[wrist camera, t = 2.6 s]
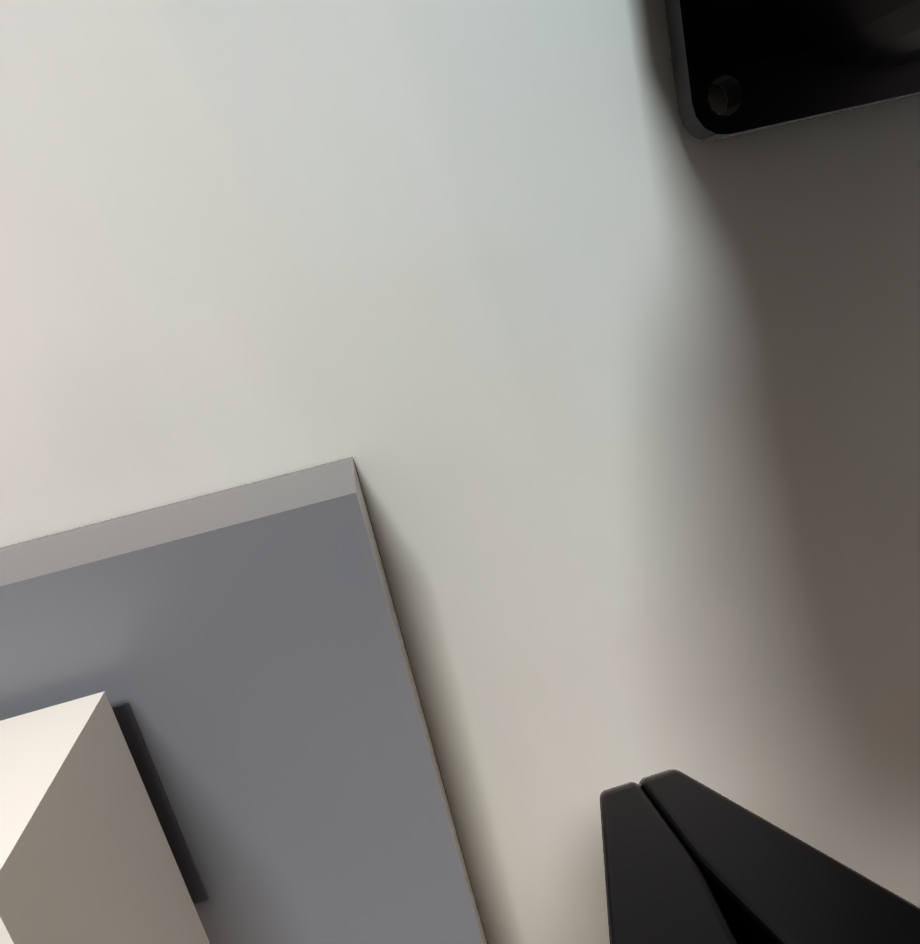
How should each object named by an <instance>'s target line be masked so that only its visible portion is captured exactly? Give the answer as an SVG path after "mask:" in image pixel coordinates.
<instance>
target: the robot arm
mask: <svg viewBox="0 0 920 944" xmlns="http://www.w3.org/2000/svg"><path fill="white" fill-rule="evenodd" d="M665 7H666V15H667V23H668V31H669V39H670V47H671V54H672V62H673V70H674V78H675V86H676V94H677V102H678V110H679V113H680V117H681V120H682V123H683V125H684V126H685V127H686V129H687V130H688V131H689V132H690V134H691V135H693V136H695V137H697V138H699V139H701V140H718V139H723V138H727V137H732V136H736V135H741V134H745V133H750V132H754V131H758V130H763V129H767V128H772V127H776V126H781V125H785V124H790V123H794V122H799V121H803V120H808V119H812V118H817V117H821V116H826V115H830V114H835V113H839V112H843V111H848V110H852V109H857V108H861V107H866V106H870V105H875V104H879V103H884V102H888V101H893V100H897V99H902V98H906V97H911V96H915V95H919V94H920V0H665ZM712 84H718V85H719V86H720V87H721V88H723V89H724V90H725V93H726V96H727V99H728V101H727V110H726V111H725V113H724V114H723V115H718V114H717V113H716V112H715V111H713V110H712V109H711V106H710V103H709V100H708V96H709V88H710V87H711V85H712ZM600 810H601V824H602V838H603V853H604V867H605V881H606V895H607V910H608V924H609V938H610V944H920V908H919V907H917V906H915V905H913V904H912V903H910V902H908V901H906V900H905V899H903V898H901V897H899V896H898V895H896V894H894V893H892V892H891V891H889V890H887V889H885V888H884V887H882V886H880V885H878V884H877V883H875V882H873V881H871V880H869V879H868V878H866V877H864V876H862V875H861V874H859V873H857V872H855V871H854V870H852V869H850V868H848V867H847V866H845V865H843V864H841V863H840V862H838V861H836V860H834V859H833V858H831V857H829V856H827V855H826V854H824V853H822V852H820V851H819V850H817V849H815V848H813V847H812V846H810V845H808V844H806V843H805V842H803V841H801V840H799V839H798V838H796V837H794V836H792V835H791V834H789V833H787V832H785V831H784V830H782V829H780V828H778V827H777V826H775V825H773V824H771V823H770V822H768V821H766V820H764V819H763V818H761V817H759V816H757V815H756V814H754V813H752V812H750V811H749V810H747V809H745V808H743V807H742V806H740V805H738V804H736V803H735V802H733V801H731V800H729V799H728V798H726V797H724V796H722V795H721V794H719V793H717V792H715V791H714V790H712V789H710V788H708V787H707V786H705V785H703V784H701V783H699V782H698V781H696V780H694V779H692V778H691V777H689V776H687V775H685V774H684V773H682V772H680V771H677V770H667V771H664V772H661V773H658V774H655V775H651V776H648V777H645V778H643V779H642V780H641V781H640V782H639V785H638V784H636V783H633V782H630V783H626V784H623V785H620V786H617V787H614V788H611V789H608V790H605V791H603V792H602V793H601V795H600Z"/></svg>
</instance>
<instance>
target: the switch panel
mask: <svg viewBox="0 0 920 944" xmlns="http://www.w3.org/2000/svg"><path fill="white" fill-rule="evenodd" d="M104 691H105V693H106V695H107V698H108V700H109V702H110V705H111V707H112V710H113V712H114V714H115V717H116V719H117V722H118V724H119V726H120V729H121V731H122V734H123V736H124V738H125V741H126V743H127V746H128V748H129V750H130V753H131V755H132V758H133V760H134V762H135V765H136V767H137V770H138V772H139V774H140V777H141V779H142V782H143V784H144V786H145V789H146V791H147V794H148V796H149V798H150V801H151V803H152V806H153V808H154V810H155V813H156V815H157V818H158V820H159V822H160V825H161V827H162V830H163V832H164V834H165V837H166V839H167V842H168V844H169V846H170V849H171V851H172V853H173V856H174V858H175V861H176V863H177V865H178V868H179V870H180V873H181V875H182V877H183V880H184V882H185V885H186V887H187V889H188V892H189V894H190V897H191V899H192V901H193V904H194V906H195V909H196V911H197V913H198V916H199V918H200V921H201V923H202V925H203V928H204V930H205V933H206V935H207V937H208V940H209V942H210V944H487V942H486V938H485V935H484V931H483V927H482V924H481V920H480V917H479V913H478V909H477V906H476V902H475V899H474V895H473V891H472V888H471V884H470V880H469V877H468V873H467V870H466V866H465V862H464V859H463V855H462V851H461V848H460V844H459V841H458V837H457V833H456V830H455V826H454V823H453V819H452V815H451V812H450V808H449V804H448V801H447V797H446V794H445V790H444V786H443V783H442V779H441V775H440V772H439V768H438V765H437V761H436V757H435V754H434V750H433V747H432V743H431V739H430V736H429V732H428V728H427V725H426V721H425V718H424V714H423V710H422V707H421V703H420V700H419V696H418V692H417V689H416V685H415V681H414V678H413V674H412V671H411V667H410V663H409V660H408V656H407V652H406V649H405V645H404V642H403V638H402V634H401V631H400V627H399V624H398V620H397V616H396V613H395V609H394V605H393V602H392V598H391V595H390V591H389V587H388V584H387V580H386V576H385V573H384V569H383V566H382V562H381V558H380V555H379V551H378V548H377V544H376V540H375V537H374V533H373V529H372V526H371V522H370V519H369V515H368V511H367V508H366V504H365V500H364V497H363V493H362V490H361V486H360V482H359V479H358V475H357V472H356V468H355V464H354V461H353V457H351V458H347V459H343V460H339V461H335V462H332V463H328V464H324V465H320V466H316V467H312V468H308V469H305V470H301V471H297V472H293V473H289V474H285V475H281V476H277V477H274V478H270V479H266V480H262V481H258V482H254V483H250V484H247V485H243V486H239V487H235V488H231V489H227V490H223V491H220V492H216V493H212V494H208V495H204V496H200V497H196V498H192V499H189V500H185V501H181V502H177V503H173V504H169V505H165V506H162V507H158V508H154V509H150V510H146V511H142V512H138V513H135V514H131V515H127V516H123V517H119V518H115V519H111V520H107V521H104V522H100V523H96V524H92V525H88V526H84V527H80V528H77V529H73V530H69V531H65V532H61V533H57V534H53V535H50V536H46V537H42V538H38V539H34V540H30V541H26V542H22V543H19V544H15V545H11V546H7V547H3V548H0V721H1V720H5V719H8V718H12V717H16V716H19V715H23V714H26V713H30V712H33V711H37V710H40V709H44V708H47V707H51V706H54V705H58V704H61V703H65V702H68V701H72V700H76V699H79V698H83V697H86V696H90V695H93V694H97V693H100V692H104Z"/></svg>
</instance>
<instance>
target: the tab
mask: <svg viewBox="0 0 920 944" xmlns="http://www.w3.org/2000/svg"><path fill="white" fill-rule="evenodd" d="M0 944H210V942H209V940H208V937H207V935H206V933H205V930H204V928H203V925H202V923H201V921H200V918H199V916H198V913H197V911H196V909H195V906H194V904H193V901H192V899H191V897H190V894H189V892H188V889H187V887H186V885H185V882H184V880H183V877H182V875H181V873H180V870H179V868H178V865H177V863H176V861H175V858H174V856H173V853H172V851H171V849H170V846H169V844H168V842H167V839H166V837H165V834H164V832H163V830H162V827H161V825H160V822H159V820H158V818H157V815H156V813H155V810H154V808H153V806H152V803H151V801H150V798H149V796H148V794H147V791H146V789H145V786H144V784H143V782H142V779H141V777H140V774H139V772H138V770H137V767H136V765H135V762H134V760H133V758H132V755H131V753H130V750H129V748H128V746H127V743H126V741H125V738H124V736H123V734H122V731H121V729H120V726H119V724H118V722H117V719H116V717H115V714H114V712H113V710H112V707H111V705H110V702H109V700H108V698H107V695H106V693H105V691H104V692H100V693H97V694H93V695H90V696H86V697H83V698H79V699H76V700H72V701H68V702H65V703H61V704H58V705H54V706H51V707H47V708H44V709H40V710H37V711H33V712H30V713H26V714H23V715H19V716H16V717H12V718H8V719H5V720H1V721H0Z"/></svg>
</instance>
